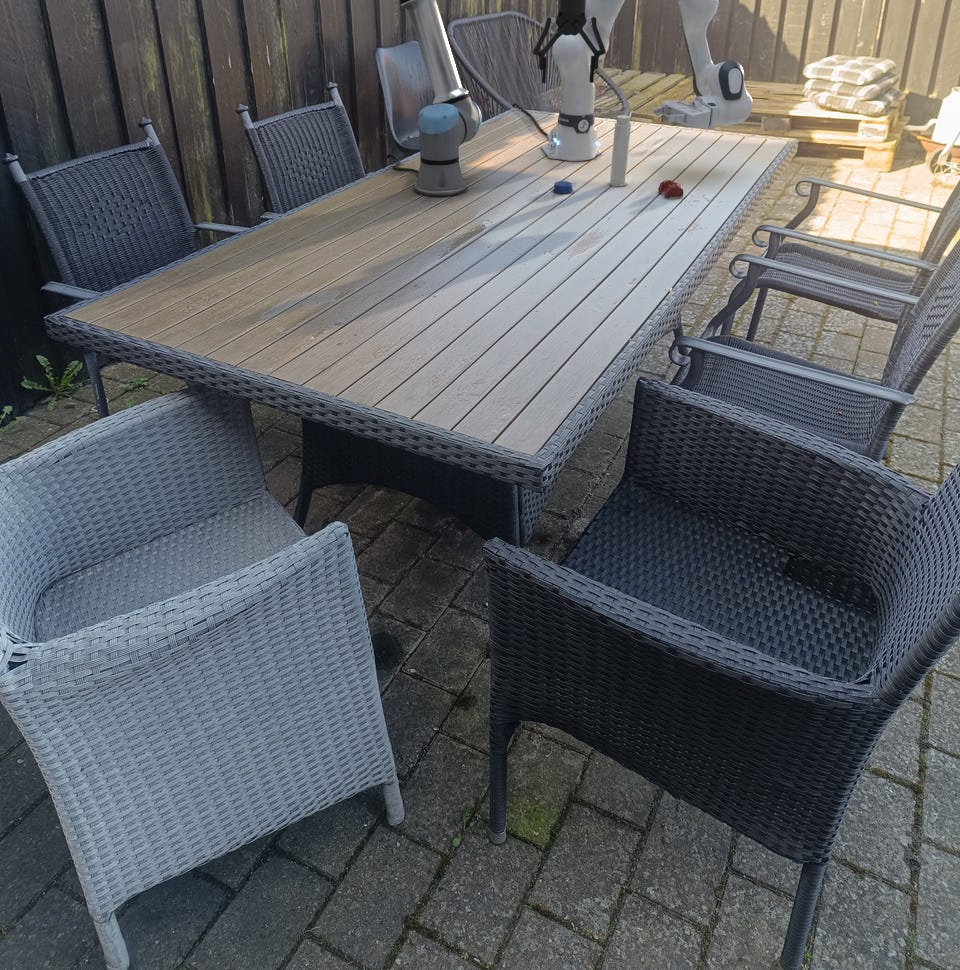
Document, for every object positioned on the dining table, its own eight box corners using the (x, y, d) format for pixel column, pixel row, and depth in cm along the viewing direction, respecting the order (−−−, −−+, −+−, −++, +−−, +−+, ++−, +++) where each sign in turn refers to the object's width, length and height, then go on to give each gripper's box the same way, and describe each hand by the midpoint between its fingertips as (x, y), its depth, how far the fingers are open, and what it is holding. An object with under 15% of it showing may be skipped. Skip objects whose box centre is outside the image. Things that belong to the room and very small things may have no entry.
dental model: (674, 175, 255) (686, 183, 249) (673, 189, 258) (684, 197, 251) (657, 177, 254) (668, 185, 248) (656, 192, 257) (667, 200, 250)
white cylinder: (625, 182, 265) (631, 115, 253) (624, 186, 261) (631, 118, 249) (610, 181, 265) (616, 114, 254) (609, 186, 262) (615, 118, 250)
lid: (556, 194, 255) (556, 186, 254) (551, 188, 259) (552, 181, 258) (574, 193, 256) (574, 185, 254) (569, 187, 260) (569, 180, 259)
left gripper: (527, -2, 224) (524, 84, 236) (620, -3, 225) (613, 84, 237) (525, -5, 230) (522, 79, 242) (615, -6, 231) (609, 79, 243)
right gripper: (686, 94, 265) (646, 97, 261) (720, 107, 249) (678, 110, 245) (683, 115, 268) (644, 118, 265) (717, 130, 252) (676, 133, 249)
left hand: (567, 82), depth 240 cm, fingers open, 13 cm apart
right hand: (661, 115), depth 255 cm, fingers open, 8 cm apart
